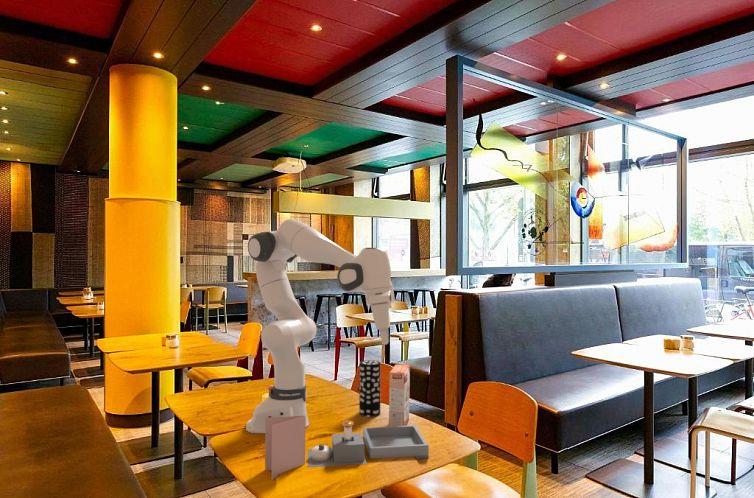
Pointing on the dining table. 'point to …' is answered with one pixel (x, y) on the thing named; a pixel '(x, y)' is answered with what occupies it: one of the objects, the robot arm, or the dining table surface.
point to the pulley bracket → (338, 452)
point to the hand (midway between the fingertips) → (385, 343)
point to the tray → (395, 442)
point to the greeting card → (284, 443)
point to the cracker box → (399, 395)
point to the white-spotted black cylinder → (370, 388)
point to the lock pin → (347, 430)
